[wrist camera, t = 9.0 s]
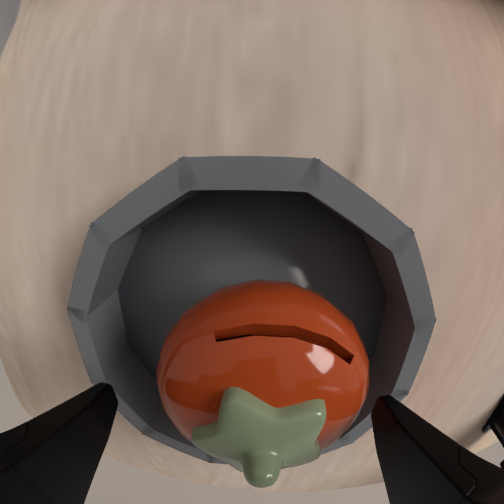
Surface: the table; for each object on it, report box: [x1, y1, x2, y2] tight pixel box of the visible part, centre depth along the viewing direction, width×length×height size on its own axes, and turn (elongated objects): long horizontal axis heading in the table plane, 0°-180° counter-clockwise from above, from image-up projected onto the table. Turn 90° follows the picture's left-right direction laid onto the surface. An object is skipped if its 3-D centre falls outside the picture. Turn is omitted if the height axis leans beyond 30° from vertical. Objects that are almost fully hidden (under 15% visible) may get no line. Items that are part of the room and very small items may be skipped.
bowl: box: [67, 156, 436, 464], centre depth 12 cm, size 15×15×4 cm
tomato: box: [156, 279, 369, 488], centre depth 9 cm, size 7×7×8 cm
